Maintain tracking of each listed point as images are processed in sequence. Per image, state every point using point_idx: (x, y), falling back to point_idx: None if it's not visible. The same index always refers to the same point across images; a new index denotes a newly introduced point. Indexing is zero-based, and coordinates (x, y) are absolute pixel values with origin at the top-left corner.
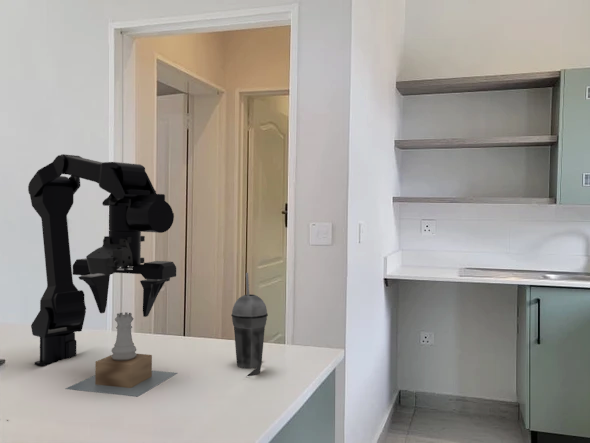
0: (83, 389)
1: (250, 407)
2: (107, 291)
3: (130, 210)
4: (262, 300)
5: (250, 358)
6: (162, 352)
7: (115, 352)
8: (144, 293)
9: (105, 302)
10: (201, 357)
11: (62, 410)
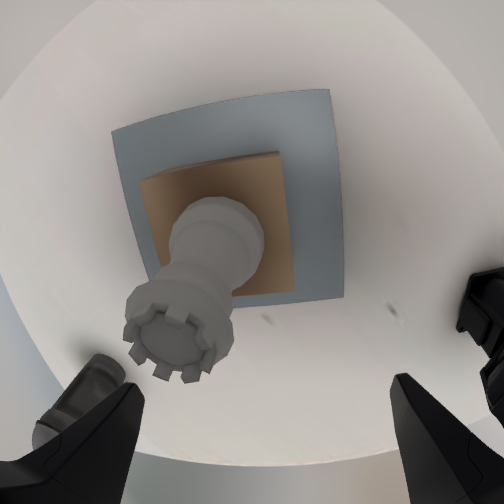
0: (275, 102)
1: (7, 228)
2: (410, 494)
3: None
4: None
5: (79, 373)
6: (326, 416)
7: (213, 203)
8: (55, 461)
9: (401, 437)
10: (238, 415)
11: (254, 27)
